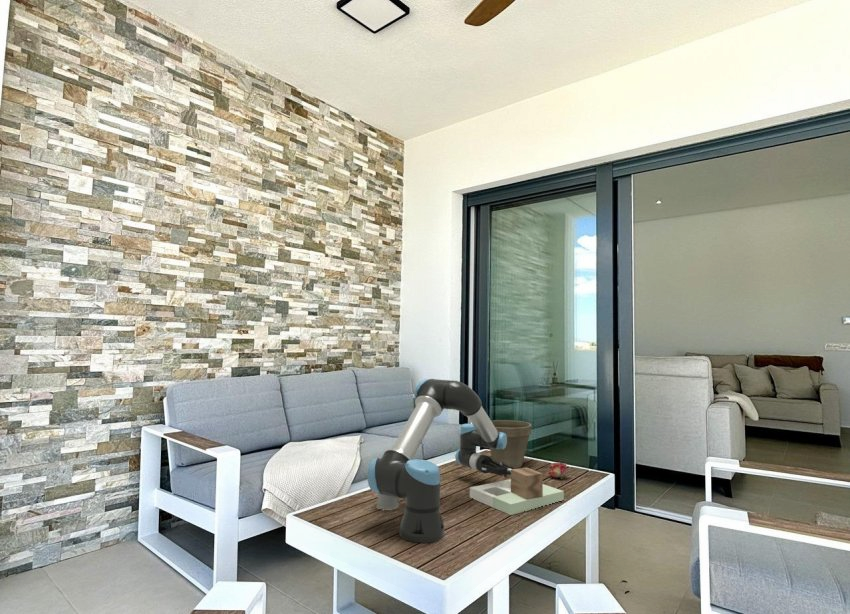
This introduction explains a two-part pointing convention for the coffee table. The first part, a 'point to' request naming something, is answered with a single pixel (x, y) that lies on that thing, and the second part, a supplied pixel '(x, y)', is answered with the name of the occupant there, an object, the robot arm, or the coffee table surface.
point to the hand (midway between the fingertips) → (519, 475)
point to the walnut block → (527, 483)
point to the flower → (558, 470)
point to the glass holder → (387, 502)
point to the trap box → (512, 497)
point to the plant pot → (512, 442)
